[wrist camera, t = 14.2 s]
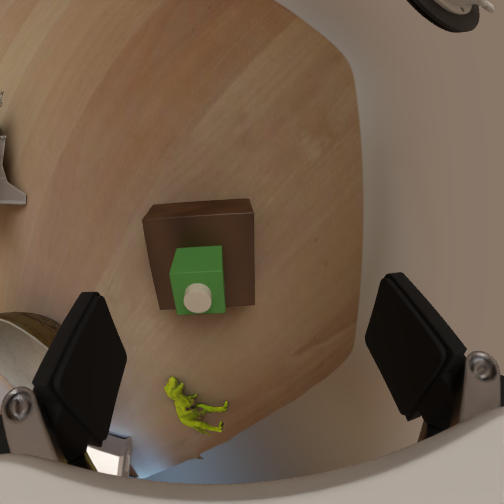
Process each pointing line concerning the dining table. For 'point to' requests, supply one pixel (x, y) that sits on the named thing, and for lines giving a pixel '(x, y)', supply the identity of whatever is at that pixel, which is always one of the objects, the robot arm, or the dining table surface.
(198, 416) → the dinosaur figurine
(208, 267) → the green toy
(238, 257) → the walnut block
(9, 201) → the toy spacecraft
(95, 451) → the white boxy piece
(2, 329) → the bowl
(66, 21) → the dining table surface
